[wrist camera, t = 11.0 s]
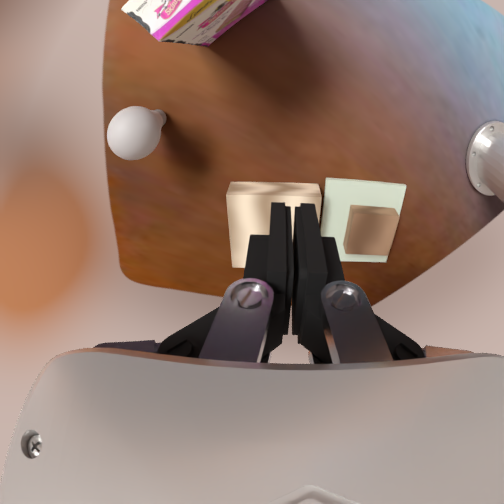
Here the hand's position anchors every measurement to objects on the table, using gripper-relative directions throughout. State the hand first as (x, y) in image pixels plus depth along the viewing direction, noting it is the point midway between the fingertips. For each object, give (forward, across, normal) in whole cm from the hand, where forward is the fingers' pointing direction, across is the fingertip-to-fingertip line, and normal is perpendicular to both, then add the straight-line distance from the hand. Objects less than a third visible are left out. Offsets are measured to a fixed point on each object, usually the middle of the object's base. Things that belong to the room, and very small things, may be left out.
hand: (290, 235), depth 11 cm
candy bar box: (+27, +6, -14) cm, 31 cm away
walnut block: (+25, -13, +16) cm, 33 cm away
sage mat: (+27, -12, +16) cm, 34 cm away
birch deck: (+27, +1, +16) cm, 31 cm away
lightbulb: (+27, +16, 0) cm, 32 cm away
